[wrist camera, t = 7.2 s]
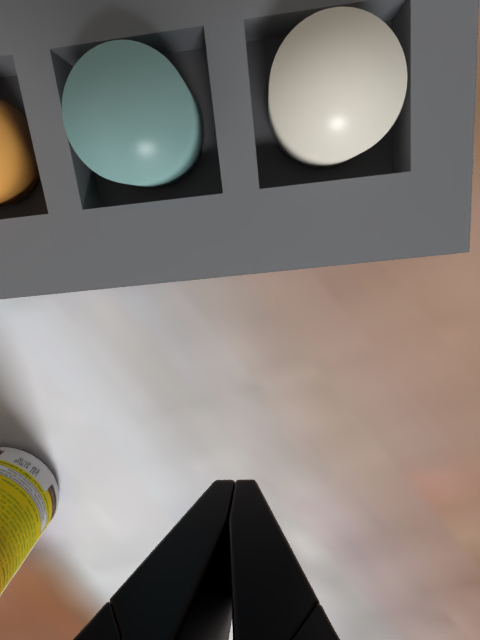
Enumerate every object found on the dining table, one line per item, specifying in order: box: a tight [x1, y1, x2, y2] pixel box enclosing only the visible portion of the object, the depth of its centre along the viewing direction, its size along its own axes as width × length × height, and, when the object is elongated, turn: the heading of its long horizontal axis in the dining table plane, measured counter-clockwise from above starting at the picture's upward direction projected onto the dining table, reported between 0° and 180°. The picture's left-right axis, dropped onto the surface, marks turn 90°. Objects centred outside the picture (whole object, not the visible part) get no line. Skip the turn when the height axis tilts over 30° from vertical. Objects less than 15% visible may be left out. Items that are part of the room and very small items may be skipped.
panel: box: [0, 0, 479, 299], centre depth 16 cm, size 24×12×3 cm, turn 96°
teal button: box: [62, 40, 205, 188], centre depth 15 cm, size 4×4×3 cm
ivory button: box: [268, 6, 407, 168], centre depth 15 cm, size 4×4×3 cm
